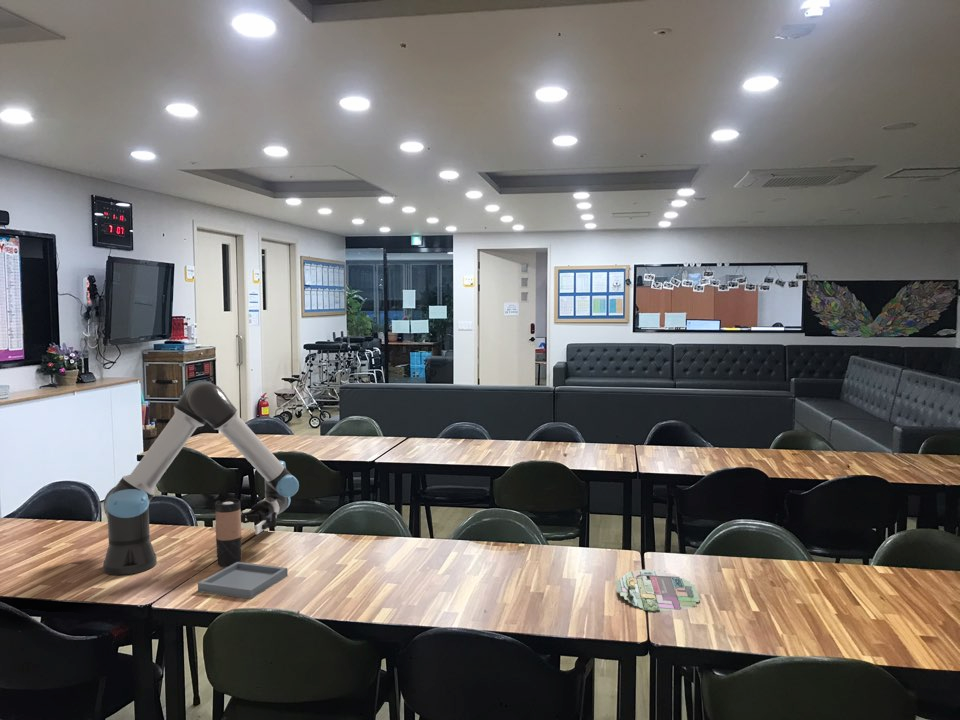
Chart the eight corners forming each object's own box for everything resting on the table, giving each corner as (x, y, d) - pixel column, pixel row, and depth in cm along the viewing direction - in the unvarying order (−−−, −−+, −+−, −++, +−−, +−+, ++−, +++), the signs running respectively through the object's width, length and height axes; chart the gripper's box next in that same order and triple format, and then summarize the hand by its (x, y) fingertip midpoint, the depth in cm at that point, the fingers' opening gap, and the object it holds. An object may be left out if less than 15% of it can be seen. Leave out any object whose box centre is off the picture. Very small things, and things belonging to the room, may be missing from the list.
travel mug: (237, 567, 221) (235, 505, 220) (212, 567, 222) (211, 505, 220) (245, 559, 229) (244, 498, 228) (222, 558, 229) (220, 498, 228)
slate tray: (197, 591, 203) (197, 582, 202) (237, 569, 220) (237, 561, 220) (251, 599, 197) (251, 590, 197) (287, 576, 214) (287, 567, 214)
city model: (636, 627, 184) (638, 605, 183) (597, 583, 206) (598, 564, 205) (718, 616, 191) (721, 595, 190) (672, 576, 213) (674, 557, 212)
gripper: (298, 522, 248) (273, 542, 227) (231, 520, 251) (200, 539, 230) (298, 501, 247) (272, 519, 226) (230, 499, 251) (199, 516, 230)
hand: (236, 529), depth 228 cm, fingers open, 13 cm apart
